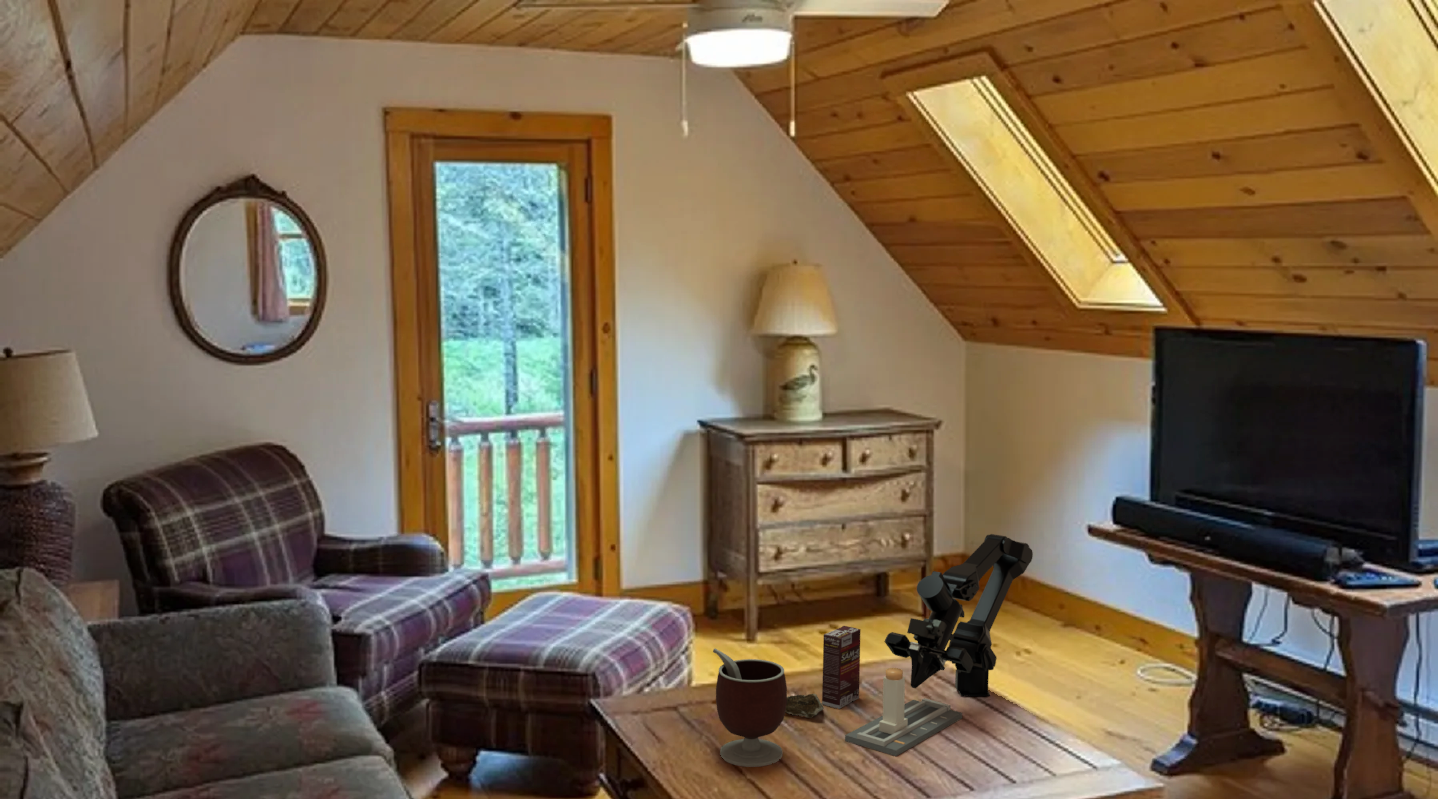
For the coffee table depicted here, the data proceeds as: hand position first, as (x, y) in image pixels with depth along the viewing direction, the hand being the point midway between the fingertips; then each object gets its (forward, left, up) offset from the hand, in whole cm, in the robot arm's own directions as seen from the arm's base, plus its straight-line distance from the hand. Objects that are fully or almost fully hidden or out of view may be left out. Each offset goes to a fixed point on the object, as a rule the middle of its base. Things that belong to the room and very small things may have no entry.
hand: (912, 687), depth 258 cm
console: (+2, +2, -8) cm, 9 cm away
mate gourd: (+35, +14, -8) cm, 38 cm away
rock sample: (+22, -7, -9) cm, 25 cm away
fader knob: (+5, +6, -7) cm, 10 cm away
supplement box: (+13, -14, -8) cm, 21 cm away
